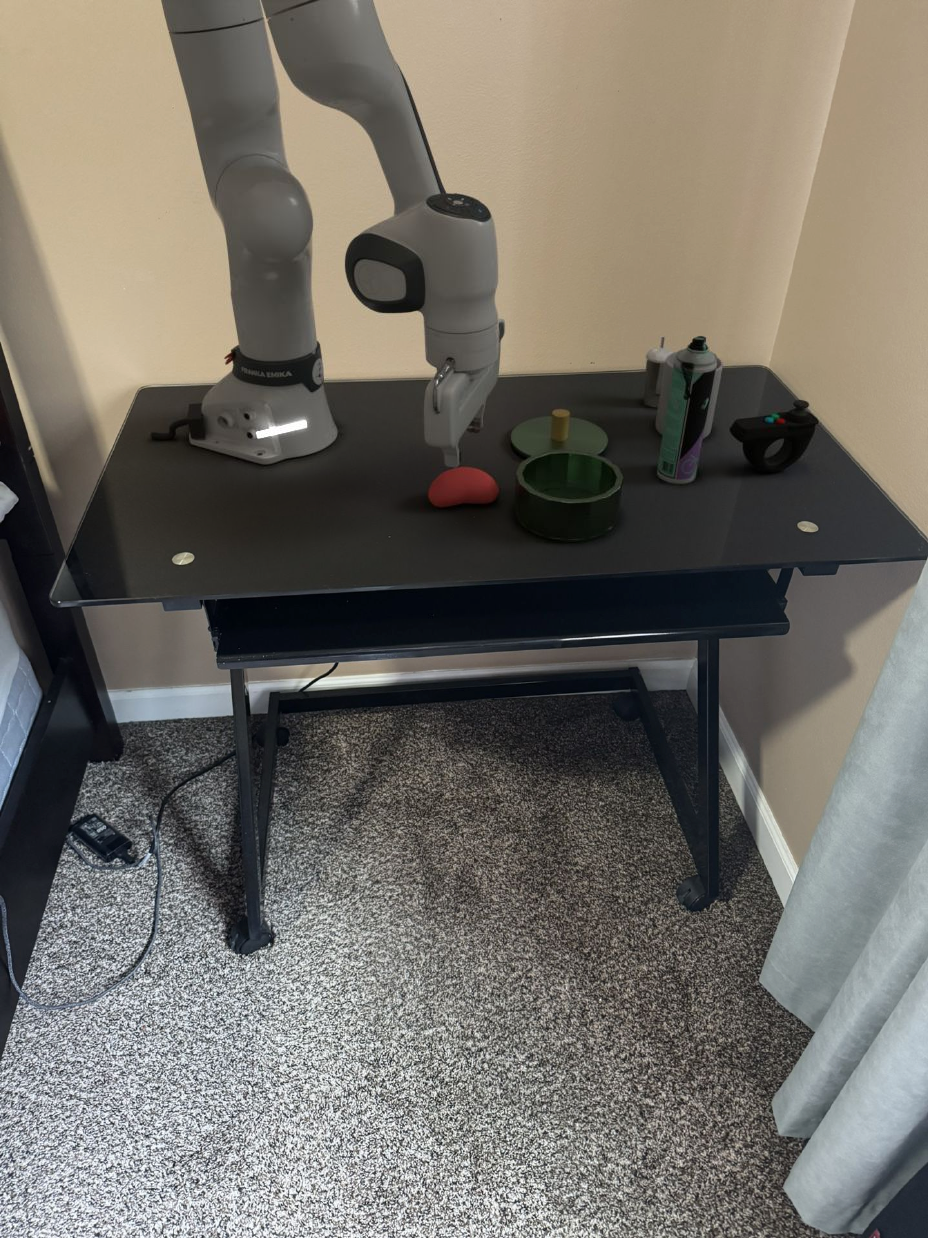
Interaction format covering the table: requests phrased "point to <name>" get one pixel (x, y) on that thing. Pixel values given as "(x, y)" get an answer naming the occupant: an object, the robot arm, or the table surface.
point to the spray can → (686, 412)
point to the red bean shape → (462, 487)
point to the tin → (568, 495)
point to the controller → (776, 436)
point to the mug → (666, 389)
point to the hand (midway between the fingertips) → (464, 447)
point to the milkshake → (655, 374)
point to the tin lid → (558, 435)
